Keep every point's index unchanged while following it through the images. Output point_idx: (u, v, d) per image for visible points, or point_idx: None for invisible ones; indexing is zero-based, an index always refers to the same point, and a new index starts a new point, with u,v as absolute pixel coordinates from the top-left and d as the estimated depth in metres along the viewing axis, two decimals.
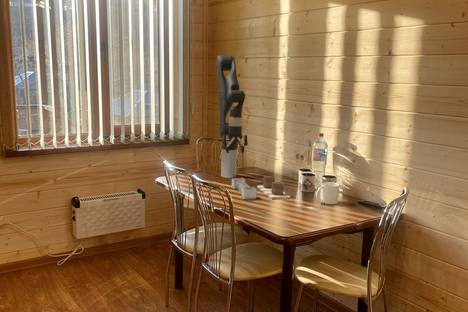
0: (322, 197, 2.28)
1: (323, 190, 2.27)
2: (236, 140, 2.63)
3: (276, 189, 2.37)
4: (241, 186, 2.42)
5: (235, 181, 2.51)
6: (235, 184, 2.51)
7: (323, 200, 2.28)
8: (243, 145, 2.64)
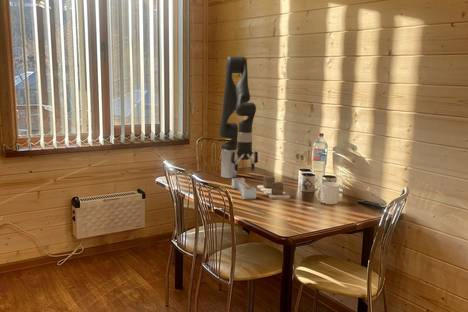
0: (322, 197, 2.28)
1: (323, 190, 2.27)
2: (246, 157, 2.40)
3: (276, 189, 2.37)
4: (241, 186, 2.42)
5: (235, 181, 2.51)
6: (235, 184, 2.51)
7: (323, 200, 2.28)
8: (253, 162, 2.41)
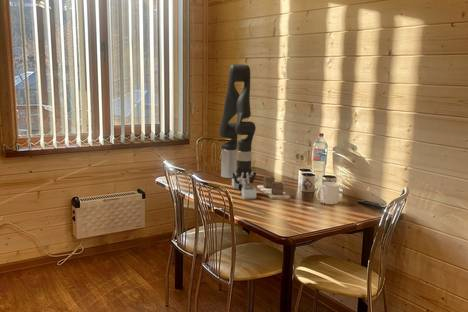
0: (322, 197, 2.28)
1: (323, 190, 2.27)
2: (244, 174, 2.41)
3: (276, 189, 2.37)
4: (241, 186, 2.42)
5: None
6: (235, 184, 2.51)
7: (323, 200, 2.28)
8: (248, 183, 2.43)
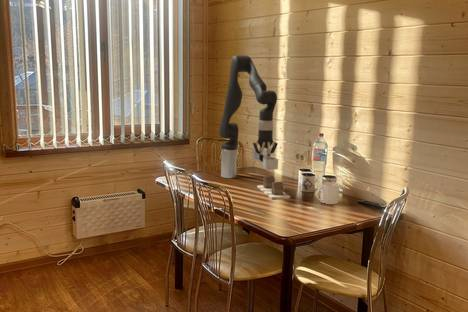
0: (322, 197, 2.28)
1: (323, 190, 2.27)
2: (265, 144, 2.39)
3: (276, 189, 2.37)
4: None
5: None
6: (256, 155, 2.49)
7: (323, 200, 2.28)
8: (269, 153, 2.40)
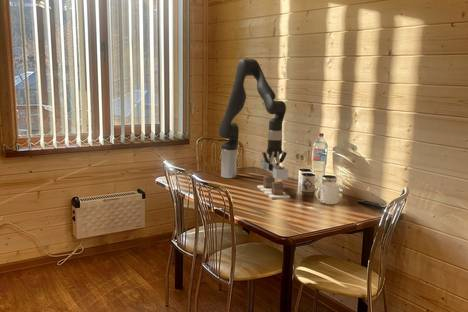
0: (322, 197, 2.28)
1: (323, 190, 2.27)
2: (274, 154, 2.41)
3: (276, 189, 2.37)
4: (272, 166, 2.42)
5: None
6: (265, 164, 2.51)
7: (323, 200, 2.28)
8: (278, 162, 2.43)
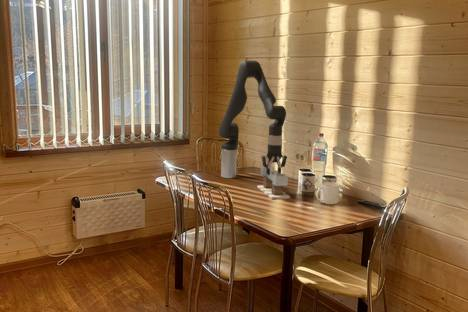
0: (322, 197, 2.28)
1: (323, 190, 2.27)
2: (275, 159, 2.42)
3: (276, 189, 2.37)
4: (271, 173, 2.43)
5: (264, 168, 2.51)
6: (264, 171, 2.52)
7: (323, 200, 2.28)
8: (280, 166, 2.43)
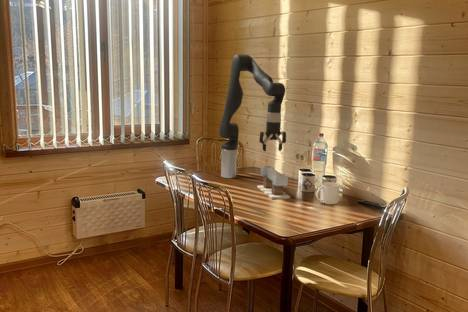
0: (322, 197, 2.28)
1: (323, 190, 2.27)
2: (274, 137, 2.42)
3: (276, 189, 2.37)
4: (271, 173, 2.43)
5: (264, 168, 2.51)
6: (264, 171, 2.52)
7: (323, 200, 2.28)
8: (281, 143, 2.43)
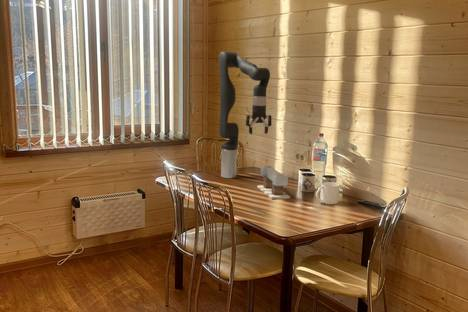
0: (322, 197, 2.28)
1: (323, 190, 2.27)
2: (260, 120, 2.51)
3: (276, 189, 2.37)
4: (271, 173, 2.43)
5: (264, 168, 2.51)
6: (264, 171, 2.52)
7: (323, 200, 2.28)
8: (267, 126, 2.52)
